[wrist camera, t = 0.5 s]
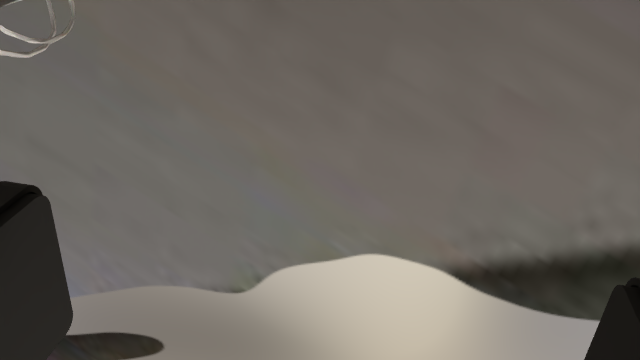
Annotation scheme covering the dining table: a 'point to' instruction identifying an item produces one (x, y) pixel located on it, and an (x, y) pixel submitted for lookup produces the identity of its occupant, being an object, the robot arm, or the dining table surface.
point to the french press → (5, 0)
